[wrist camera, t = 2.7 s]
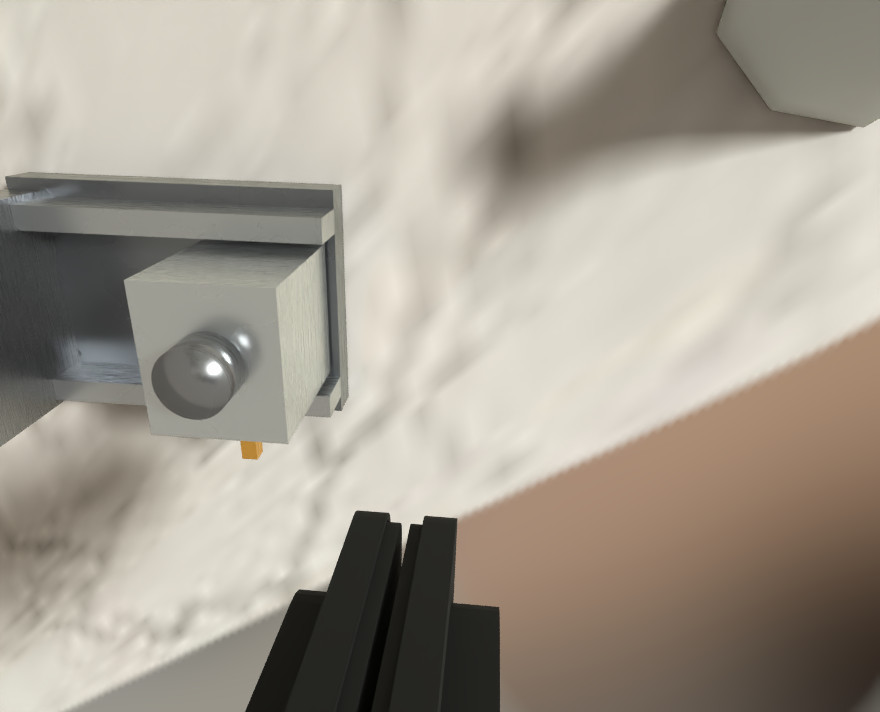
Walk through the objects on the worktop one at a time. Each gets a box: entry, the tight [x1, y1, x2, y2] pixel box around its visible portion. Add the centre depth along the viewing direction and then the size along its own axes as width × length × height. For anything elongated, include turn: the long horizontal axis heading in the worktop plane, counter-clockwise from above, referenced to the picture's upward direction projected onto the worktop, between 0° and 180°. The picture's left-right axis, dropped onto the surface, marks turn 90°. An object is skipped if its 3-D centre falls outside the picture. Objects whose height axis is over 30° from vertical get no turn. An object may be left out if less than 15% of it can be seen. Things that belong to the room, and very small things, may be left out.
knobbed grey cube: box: [124, 239, 330, 459], centre depth 19 cm, size 4×6×6 cm, turn 178°
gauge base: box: [0, 172, 348, 447], centre depth 20 cm, size 11×8×6 cm
